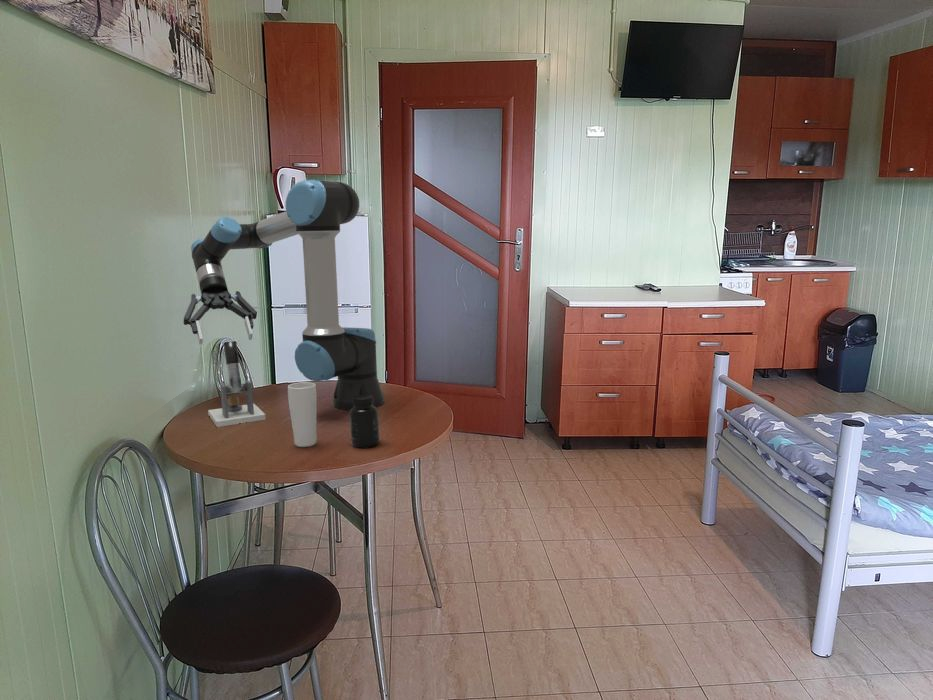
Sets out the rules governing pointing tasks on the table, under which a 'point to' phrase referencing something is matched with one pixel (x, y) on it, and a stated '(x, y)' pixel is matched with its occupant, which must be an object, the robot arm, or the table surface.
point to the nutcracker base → (236, 409)
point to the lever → (233, 368)
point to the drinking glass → (303, 412)
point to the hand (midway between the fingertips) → (226, 339)
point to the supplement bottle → (364, 422)
